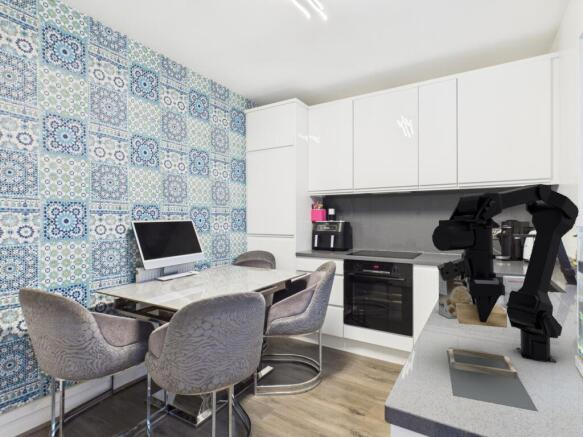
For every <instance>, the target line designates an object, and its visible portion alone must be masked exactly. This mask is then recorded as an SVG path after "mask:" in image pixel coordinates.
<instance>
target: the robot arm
mask: <svg viewBox="0 0 583 437" xmlns="http://www.w3.org/2000/svg"><path fill="white" fill-rule="evenodd" d="M538 201H539V202H538ZM521 205H525V211H526V212H527V213H528V214H530V216H531V223H532V225H533V228H534V230H535V238H534V239H533V240H534V241H533V243H532V244H533V245H532V248H531V252H530V257H529V260H528V263H527V266H526V267H527V268H526V272H525V275H524V277H525V278H524V282H523V286H522V287H521V288H520V289H519V290H518V291H513V290H512V291H511V292H510V294H509V300H508V303H507V304H506V306H507V309H506V313H507V318H508V321H509V323H510V327H512V328H515V329H519V330H520V332H519V333H520V347H516V348H515V349H516V350H517V352H518V353H519V355H520V356H521V358H522V359H525V360H532V361H540V362H548V363H554V364H555V363H557V361H556V359H555V358H554V357H553V356H552V355H551V354H552V352H551V351H552V350H551V338H552V339H558V338H559V337H562V336H561V335H562V333H563V332H562V331H563V326H562V325H561V324H560V322H558V320H557V319H556V317H554V315H553V312H554V304H553V303H552V301H551V299H550V296H549V293H548V292H549V289H550V285H551V281H552V277H553V273H554V270H555V265H556V262H557V258H558V253H559V249H560V245H561V242H562V238H563V237H564V236H565V235H567V234H568V233H569V232H570V231H571V230H572V229H573V228H574V227H575V223H576V221H577V218H578V217H579V214H578V213H580V212H579V207H578V205H576V204H575V203H574V202H573V201H572V199H570V198H569V197H568V196H567V195H564V194H562V193H560V192H557V191H555V190H553V189H552V188H551V187H550V186H548V185H547V184H543V183H535V184H527V185H524V186H522V187H518V188H514V189H508V190H504V191H503V190H502V191H500V192H492V191H491V192H480V193H472V194H471V193H470V194H469V193H468V194H464V195H461V196H460V197H459V200H458V202H457V204H456V206H455V207H454V210H453V212H452V213H451V215H450V217H449V218H448V219H439V220H438V225H437V226H436V227H435V228H434V230H433V232H432V234H431V239H432V240H431V241H432V244H433V245H434V247H435V248H436V249H437V251H441V252H448V251H449V252H450V251H451V252H452V251H462V252H461V258H458V259H455V260H449V261H447V262H443V263H441V264H438V265H437V270H438V274H439V273H440V275H441V277H442V280H443V281H447V280H450V279H451V278H454V277H458V276H459V277H460V279H461V280H463V278H465V281H461V282H462V284H463V285H464V286H465V287H466V288H467V292H468V293H469V294H470V295H471V299H472V303H473V304H476V307H477V311H478V316H479V320H480V322H486V321H487V319H488V317H489V315H490V313H491V311H492V309H493V308H494V306H496V304H497V302H498V301H499V298H501V297H502V296H503V295H505V286H504V285H503V282H501V281H500V280H499V279H498V278H497V273H496V272H495V268H494V266H495V264H494V260H496V253H494V239H493V238H494V237H493V233H494V232H493V229H499V228H500V227H501V226H500V224H499V223H497V222H496V221H495V220H494V219H493V218H495V217H496V216H498V215H501V214H502V213H503V211H504V210H505V209H509V208H513V207H517V206H521Z"/></svg>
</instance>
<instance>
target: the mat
mask: <svg viewBox="0 0 583 437" xmlns="http://www.w3.org/2000/svg"><path fill="white" fill-rule="evenodd" d="M446 355H447V360H448V362H447V363H448V369H449V376H450V382H451V389H452V390H451V391H452V395H453V396H454V397H457V398H458V397H459V398H462V399H463V398H465V399H469V400H475V401H480V402H485V403H492V404H496V405H500V406H506V407H510V408H511V407H513V408H518V409H522V410H527V411H528V410H529V411H533V412H539V410H538V409H537V407H536V405H535V403H534V401H533V399H532V398H531V396H530V394H529V392H528V390H527V389H526V388H525V386H524V383H523V382H522V380H521V379H520V377H519V375H518V374H517V378H511V377H504V376H498V375H491V374H485V373H479V372H472V371H466V370H459V369H453V368H451V363H450V357H449V350H446ZM454 360H455V362H459V363H466V364H472V365H479V366H486V367H493V368H499V369H506V370H508V368H507V366H506V364H505V362H504V361H500V360H492V359H485V358H478V357H471V356H464V355H457V354H454Z"/></svg>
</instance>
